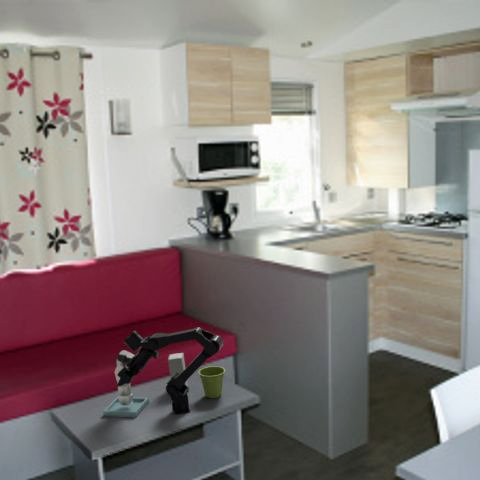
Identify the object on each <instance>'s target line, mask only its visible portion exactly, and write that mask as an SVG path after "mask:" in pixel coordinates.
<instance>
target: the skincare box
mask: <svg viewBox="0 0 480 480" xmlns="http://www.w3.org/2000/svg"><path fill="white" fill-rule="evenodd" d="M184 355H185V354H184V352H180V353H179V352H178V353H171V354H169V355H168V358H167V361H168V363H167V364H168V368H169V369H168V370H169V374H170V378H171V377H173V376H174V375H175V373H176V372H178V374H180V373H182V372H183V371H184V370H185V369H186V368H187V367H186V363H185V356H184ZM188 384H189V383H188V380H187V381H186V383H185V385H186V386H187V387H188V388H189V386H188Z"/></svg>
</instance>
